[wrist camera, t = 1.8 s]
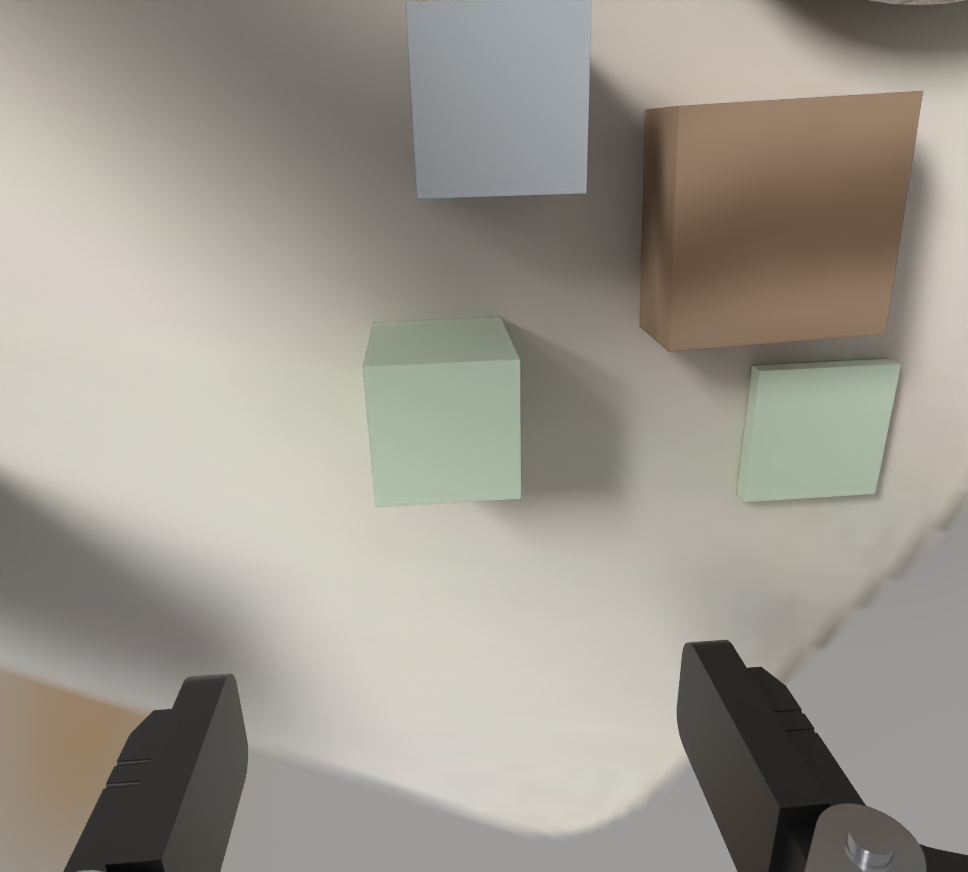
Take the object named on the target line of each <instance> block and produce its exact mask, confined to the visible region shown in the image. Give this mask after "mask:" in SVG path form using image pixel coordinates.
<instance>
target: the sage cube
mask: <svg viewBox="0 0 968 872" xmlns="http://www.w3.org/2000/svg"><path fill="white" fill-rule="evenodd" d="M363 376H364V386H365V397H366V408H367V419H368V430H369V441H370V452H371V463H372V474H373V485H374V496H375V507H392V506H408V505H425V504H441V503H457V502H474V501H490V500H506V499H521V424H520V358H519V356H518V354H517V352H516V349H515V347H514V345H513V343H512V341H511V339H510V336H509V334H508V332H507V330H506V328H505V326H504V323H503V321H502V319H501V317H490V318H467V319H444V320H421V321H398V322H375V323H373V326H372V330H371V334H370V338H369V342H368V347H367V351H366V355H365V359H364V364H363Z"/></svg>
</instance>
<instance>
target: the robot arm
mask: <svg viewBox="0 0 968 872" xmlns="http://www.w3.org/2000/svg"><path fill="white" fill-rule="evenodd" d="M677 723H678V729H679V734H680V738H681V741H682V744H683V747H684V749H685V752H686V754H687V756H688V758H689V761H690V763H691V765H692V767H693V770H694V772H695V775H696V777H697V779H698V781H699V784H700V786H701V788H702V791H703V793H704V795H705V798H706V799H707V802H708V804H709V807H710V809H711V811H712V814H713V816H714V818H715V821H716V823H717V825H718V828H719V830H720V832H721V834H722V837H723V839H724V841H725V843H726V846H727V848H728V851H729V853H730V855H731V857H732V859H733V862H734V864H735V867H736V869H737V871H738V872H968V855H963V854H958V853H953V852H948V851H943V850H938V849H934V848H930V847H926V846H923V845H921V844H919V843H918V842H917V841H916V839H915V838H914V837H913V835H912V834H911V833H910V832H909V831H908V830H907V829H906V828H905V827H904V826H902V825H901V824H900V823H899V822H897V821H896V820H895V819H893V818H892V817H890V816H888V815H886V814H885V813H883V812H881V811H878V810H876V809H874V808H871V807H868V806H866V805H865V803H864V802H863V800H862V799H861V798H860V796H859V794H858V793H857V791H856V790H855V789H854V787H853V786H852V784H851V783H850V781H849V780H848V778H847V777H846V775H845V774H844V772H843V771H842V769H841V768H840V766H839V765H838V763H837V762H836V760H835V759H834V757H833V756H832V754H831V753H830V751H829V750H828V748H827V747H826V745H825V744H824V742H823V741H822V739H821V738H820V736H819V735H818V734H817V733H815V732H814V727H813V726H812V724H811V723H810V721H809V720H808V718H807V717H806V715H805V714H802V712H801V708H800V706H799V705H798V703H797V702H796V700H795V699H794V697H793V696H792V694H791V693H790V691H789V690H788V688H787V687H786V686H785V685H784V684H783V683H781V682H780V681H779V680H778V679H776V678H775V677H774V676H772V675H771V674H770V673H769V672H767V671H766V670H765V669H763V668H762V667H752V668H746V666H745V664H744V663H743V661H742V660H741V658H740V656H739V655H738V653H737V651H736V650H735V648H734V647H733V645H732V644H731V643H730V642H729V641H728V640H717V641H703V642H689V643H686V644H685V645H684V647H683V652H682V661H681V671H680V681H679V691H678V701H677ZM247 764H248V743H247V737H246V731H245V726H244V721H243V715H242V710H241V705H240V699H239V694H238V689H237V684H236V680H235V677H234V675H233V674H220V675H206V676H192V677H187V678H186V679H185V681H184V683H183V685H182V687H181V689H180V691H179V694H178V696H177V698H176V701H175V703H174V705H173V708H172V709H165V710H154V711H153V712H152V713H151V714H150V715H149V716H148V717H147V718H146V719H145V720H144V721H143V722H142V723H141V724H140V725H139V726H138V727H137V728H136V729H135V730H134V731H133V732H132V733H131V734H130V736H129V738H128V739H127V741H126V744H125V746H124V748H123V750H122V752H121V754H120V756H119V758H118V760H117V766H114V768H113V770H112V773H111V774H110V777H109V779H108V781H107V783H106V784H107V785H106V789H103V791H102V793H101V795H100V797H99V799H98V802H97V803H96V805H95V808H94V810H93V812H92V814H91V816H90V818H89V820H88V822H87V824H86V826H85V828H84V830H83V832H82V834H81V836H80V838H79V841H78V843H77V845H76V847H75V849H74V851H73V853H72V855H71V857H70V859H69V861H68V864H67V865H66V867H65V869H64V872H220V871H221V867H222V863H223V860H224V856H225V852H226V848H227V845H228V841H229V837H230V834H231V830H232V826H233V823H234V819H235V815H236V811H237V808H238V804H239V801H240V797H241V793H242V790H243V786H244V782H245V778H246V773H247Z"/></svg>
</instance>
